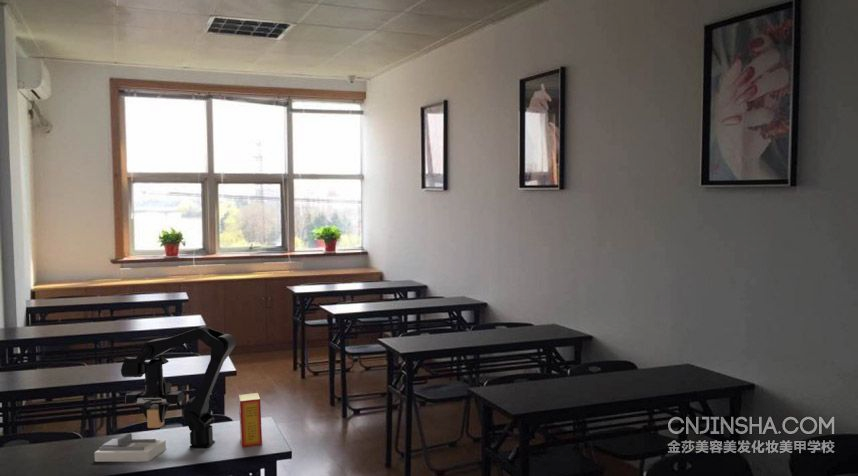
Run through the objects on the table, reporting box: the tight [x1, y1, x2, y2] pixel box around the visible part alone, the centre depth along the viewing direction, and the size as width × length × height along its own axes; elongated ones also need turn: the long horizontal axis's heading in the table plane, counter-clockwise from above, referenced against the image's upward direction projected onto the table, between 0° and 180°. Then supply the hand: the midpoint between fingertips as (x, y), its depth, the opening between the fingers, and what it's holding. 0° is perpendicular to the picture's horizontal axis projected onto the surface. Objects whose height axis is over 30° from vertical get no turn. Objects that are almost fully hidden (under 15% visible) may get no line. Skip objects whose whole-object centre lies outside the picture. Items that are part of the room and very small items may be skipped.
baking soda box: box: [238, 392, 263, 449], centre depth 241 cm, size 10×6×16 cm
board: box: [93, 438, 167, 463], centre depth 231 cm, size 18×12×4 cm, turn 84°
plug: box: [146, 403, 165, 429], centre depth 241 cm, size 4×4×7 cm
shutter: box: [101, 432, 133, 447], centre depth 232 cm, size 6×6×3 cm
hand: (155, 422), depth 241 cm, fingers closed on plug, 4 cm apart
